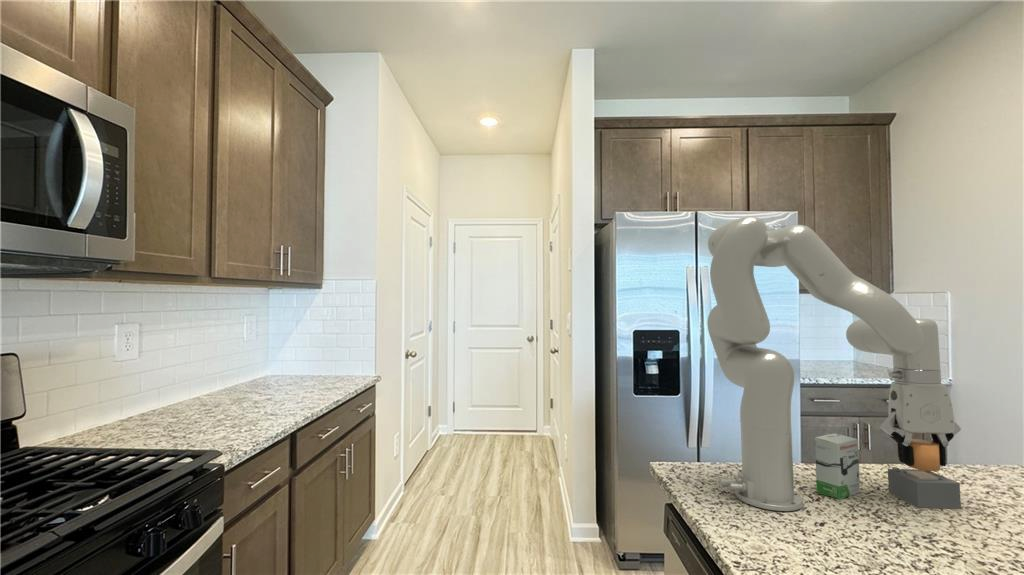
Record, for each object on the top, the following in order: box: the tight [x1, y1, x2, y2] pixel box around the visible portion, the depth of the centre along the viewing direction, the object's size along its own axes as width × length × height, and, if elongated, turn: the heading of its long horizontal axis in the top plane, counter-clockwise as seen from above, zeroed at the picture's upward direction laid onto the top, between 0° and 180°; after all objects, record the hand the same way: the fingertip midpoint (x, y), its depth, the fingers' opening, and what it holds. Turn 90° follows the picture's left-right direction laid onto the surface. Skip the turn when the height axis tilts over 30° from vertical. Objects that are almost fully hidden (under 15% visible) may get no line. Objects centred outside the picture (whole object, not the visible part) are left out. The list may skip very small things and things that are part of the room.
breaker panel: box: [887, 466, 962, 510], centre depth 95 cm, size 8×8×6 cm
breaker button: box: [906, 471, 939, 480], centre depth 95 cm, size 4×4×4 cm
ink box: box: [814, 433, 861, 500], centre depth 100 cm, size 9×5×12 cm, turn 117°
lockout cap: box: [905, 438, 941, 472], centre depth 96 cm, size 6×6×5 cm
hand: (922, 462), depth 96 cm, fingers closed on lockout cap, 5 cm apart
